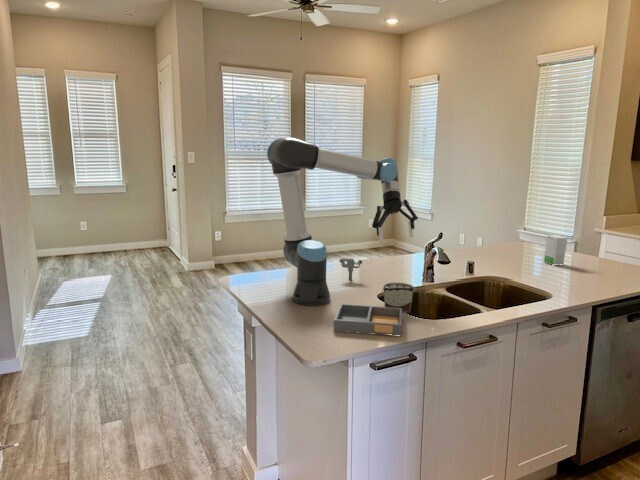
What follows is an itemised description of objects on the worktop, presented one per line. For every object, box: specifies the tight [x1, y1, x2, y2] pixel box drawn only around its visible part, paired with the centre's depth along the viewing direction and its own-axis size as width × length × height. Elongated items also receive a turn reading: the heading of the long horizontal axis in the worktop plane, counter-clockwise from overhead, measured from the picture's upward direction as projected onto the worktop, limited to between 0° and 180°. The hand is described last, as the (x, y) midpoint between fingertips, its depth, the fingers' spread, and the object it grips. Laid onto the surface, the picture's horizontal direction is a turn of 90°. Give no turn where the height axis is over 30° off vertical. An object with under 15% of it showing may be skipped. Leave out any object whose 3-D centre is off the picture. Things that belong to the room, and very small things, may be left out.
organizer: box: [333, 303, 403, 336], centre depth 160 cm, size 22×17×4 cm
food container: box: [381, 282, 416, 313], centre depth 175 cm, size 12×6×10 cm, turn 92°
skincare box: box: [543, 234, 568, 265], centre depth 249 cm, size 8×7×16 cm
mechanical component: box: [339, 257, 363, 282], centre depth 214 cm, size 3×10×10 cm, turn 79°
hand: (396, 239), depth 196 cm, fingers open, 13 cm apart
